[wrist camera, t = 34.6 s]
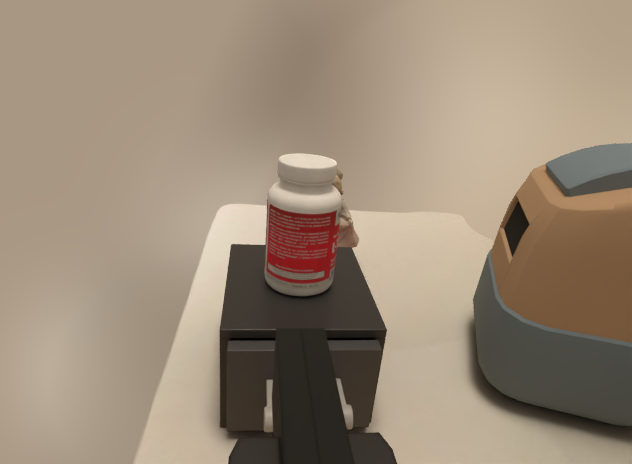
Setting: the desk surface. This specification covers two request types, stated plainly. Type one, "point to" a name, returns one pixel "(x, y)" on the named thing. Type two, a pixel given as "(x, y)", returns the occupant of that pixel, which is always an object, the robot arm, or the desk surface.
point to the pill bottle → (302, 225)
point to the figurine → (345, 219)
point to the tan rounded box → (563, 289)
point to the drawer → (257, 379)
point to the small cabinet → (293, 307)
